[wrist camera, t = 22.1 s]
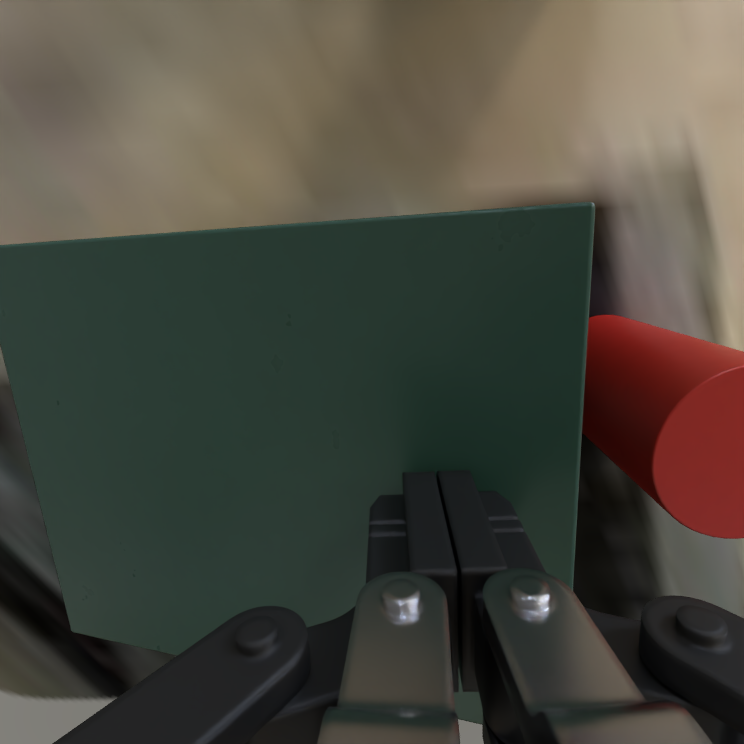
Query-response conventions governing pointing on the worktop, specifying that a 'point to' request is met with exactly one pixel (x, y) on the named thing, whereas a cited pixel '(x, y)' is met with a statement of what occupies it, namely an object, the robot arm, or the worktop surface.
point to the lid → (289, 402)
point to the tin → (670, 419)
